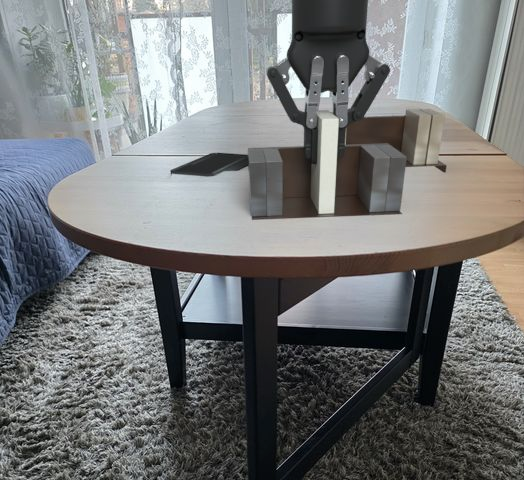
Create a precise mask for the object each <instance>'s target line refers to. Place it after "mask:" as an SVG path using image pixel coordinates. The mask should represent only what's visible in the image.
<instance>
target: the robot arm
mask: <svg viewBox="0 0 524 480" xmlns="http://www.w3.org/2000/svg"><path fill="white" fill-rule="evenodd" d="M368 9H369V0H291V40H290V44H289V47H288V48H287V51H286V57H285V58H283V59H282V60H281V61H279V62H278V63H276V64H275V65H271V66H268V67H267V68H266V71H265V74H266V77H267V79H268V80H269V83H270V86H271V87H272V88H273V90H274V92H275V95H276V96H277V98H278V100H279V102H280V104H281V106H282V107H283V110H284V111H285V113H286V115H287V117H288V118H289V120H290V121H291V122H292V123H294V124H297V125H301V126H302V127H303V146H304V154H305V157H306V158H307V159H309V162H310V163H311V164H317V149H318V129H317V128H316V125H317V120H318V111H319V108H320V103H321V95H322V93H325V92H331V101H332V112H333V115H335V116H336V117H337V118H338V119H339V126H338V146H337V163H338V160H339V157H343V155H344V150H345V133H346V127H347V126H348V125H349V124H350V123H352V122H355V121H360V120H362V119H363V117H366V114H367V112H368V111H369V109H370V108H371V106H372V104H373V102H374V100H375V99H376V97H377V95H378V93H379V92H380V90H381V89H382V87H383V85H384V83H385V82H386V80H387V78H388V76H389V75H390V73H391V68H390V66H389V65H388V64H386V63H383V62H380V61H379V60H377V59H376V58H375V57H372V56H371V55H370V47H369V45H368V42H367V36H366V35H367V24H368V23H367V22H368ZM363 67H364V72H363V79H364V80H365V82H364V83H363V86H362V87H361V89H360V91H359V92H358V94H357V95H356V97H355V100H354V101H353V103H352V105H351V106H350V108H349V107H348V105H349V88H350V87H351V86H352V83H353V82H354V81H355V79H356V78H357V76H358V75H359V73H360V72H361V70H362V69H363ZM290 69H292V70H293V73H294V74H295V75H296V77H297V78H298V80H299V81H300V83H301V85H302V86H303V88H304V90H305V91H304V111H303V110H300V109H298V107H297V105H296V103H295V100H294V99H293V96H292V94H291V93H290V91H289V89H288V87H287V86H286V85H287V84H288V83H289V82H290V79H291V78H290V75H289V70H290Z"/></svg>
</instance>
